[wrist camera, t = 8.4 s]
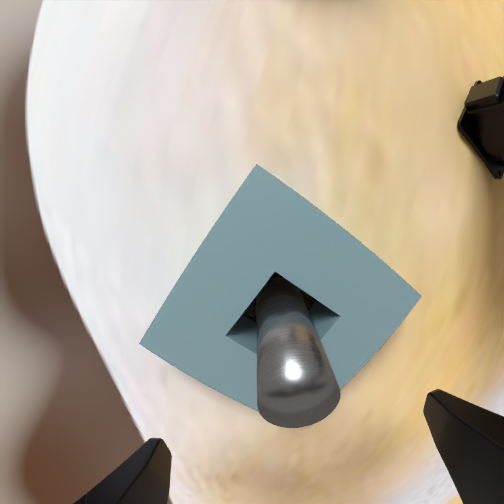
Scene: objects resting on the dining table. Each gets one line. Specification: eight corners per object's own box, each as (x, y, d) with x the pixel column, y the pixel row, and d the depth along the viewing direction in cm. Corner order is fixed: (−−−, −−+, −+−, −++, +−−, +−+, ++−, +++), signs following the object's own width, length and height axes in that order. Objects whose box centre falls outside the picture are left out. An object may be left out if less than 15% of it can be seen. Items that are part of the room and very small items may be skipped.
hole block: (393, 276, 18) (421, 296, 14) (291, 392, 20) (297, 427, 16) (256, 169, 17) (256, 164, 13) (158, 315, 19) (139, 343, 15)
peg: (309, 293, 18) (356, 389, 9) (282, 326, 19) (303, 435, 9) (273, 268, 18) (293, 355, 8) (247, 303, 19) (240, 409, 9)
